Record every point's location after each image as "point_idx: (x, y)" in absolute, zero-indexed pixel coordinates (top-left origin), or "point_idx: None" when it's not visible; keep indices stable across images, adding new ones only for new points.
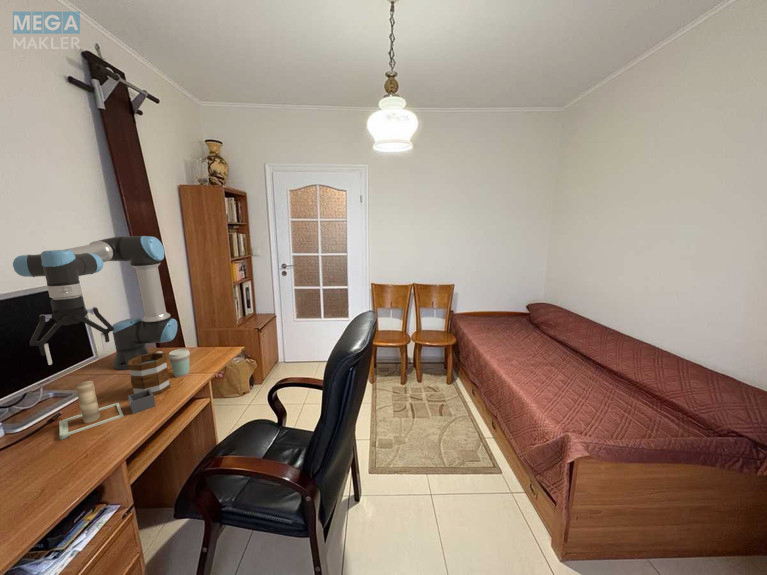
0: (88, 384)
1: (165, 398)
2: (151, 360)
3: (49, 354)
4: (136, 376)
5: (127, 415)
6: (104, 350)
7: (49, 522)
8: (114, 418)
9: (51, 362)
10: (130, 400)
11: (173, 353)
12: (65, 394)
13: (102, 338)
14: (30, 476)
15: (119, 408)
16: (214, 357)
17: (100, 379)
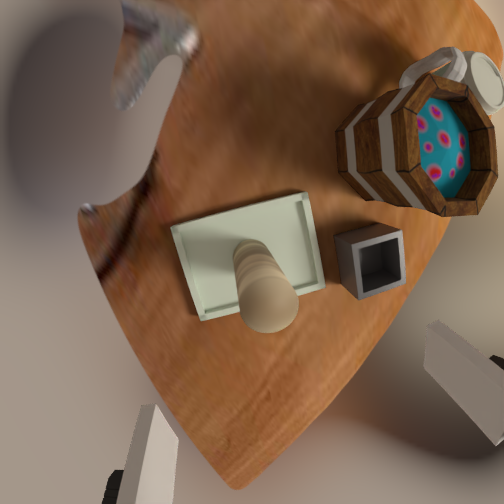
0: (285, 322)
1: (405, 224)
2: (441, 99)
3: (172, 494)
4: (397, 189)
5: (329, 272)
6: (431, 375)
7: (255, 477)
8: (306, 292)
9: (177, 448)
10: (357, 286)
11: (480, 79)
12: (142, 21)
13: (482, 428)
14: (195, 407)
15: (314, 241)
16: (477, 44)
17: None
